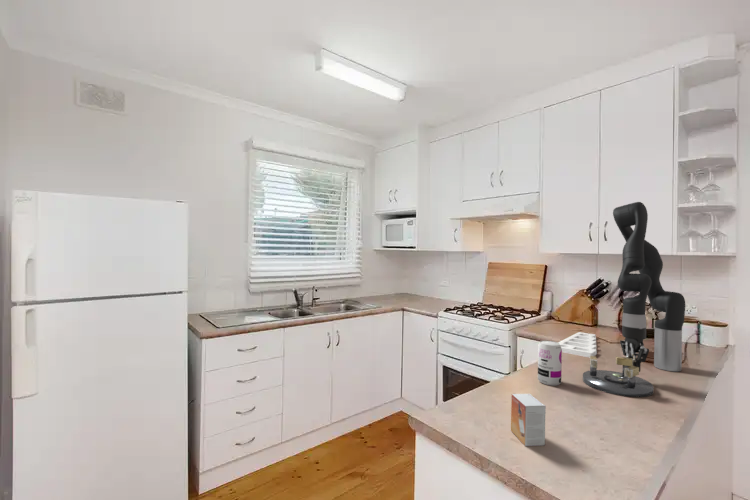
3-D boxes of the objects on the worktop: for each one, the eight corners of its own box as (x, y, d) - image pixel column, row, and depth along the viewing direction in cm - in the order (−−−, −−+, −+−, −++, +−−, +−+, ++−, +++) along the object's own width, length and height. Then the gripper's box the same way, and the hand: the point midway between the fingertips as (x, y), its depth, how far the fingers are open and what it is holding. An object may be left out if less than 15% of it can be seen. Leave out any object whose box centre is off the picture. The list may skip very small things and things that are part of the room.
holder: (578, 336, 214) (578, 331, 214) (614, 342, 202) (614, 337, 202) (551, 351, 183) (551, 345, 183) (591, 359, 170) (591, 353, 170)
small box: (510, 431, 101) (510, 393, 101) (529, 430, 101) (530, 392, 101) (524, 446, 93) (525, 405, 93) (545, 445, 93) (546, 405, 93)
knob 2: (632, 383, 131) (632, 365, 131) (639, 385, 129) (639, 367, 129) (623, 387, 127) (624, 368, 127) (630, 389, 125) (631, 370, 125)
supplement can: (560, 380, 140) (561, 341, 140) (561, 387, 133) (562, 347, 133) (537, 377, 144) (538, 339, 144) (537, 384, 136) (538, 344, 136)
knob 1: (589, 372, 142) (589, 355, 142) (595, 373, 141) (596, 356, 141) (590, 377, 137) (590, 359, 137) (597, 378, 136) (597, 360, 136)
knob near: (616, 374, 140) (616, 357, 140) (615, 373, 142) (615, 356, 142) (636, 377, 137) (636, 360, 137) (635, 375, 139) (635, 358, 139)
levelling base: (600, 371, 151) (600, 361, 151) (663, 389, 132) (664, 378, 132) (571, 381, 139) (571, 371, 139) (636, 402, 120) (636, 390, 120)
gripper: (612, 321, 146) (612, 364, 146) (636, 328, 132) (635, 376, 132) (632, 322, 146) (631, 364, 145) (657, 329, 132) (657, 376, 131)
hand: (633, 369), depth 139 cm, fingers closed on knob near, 2 cm apart
